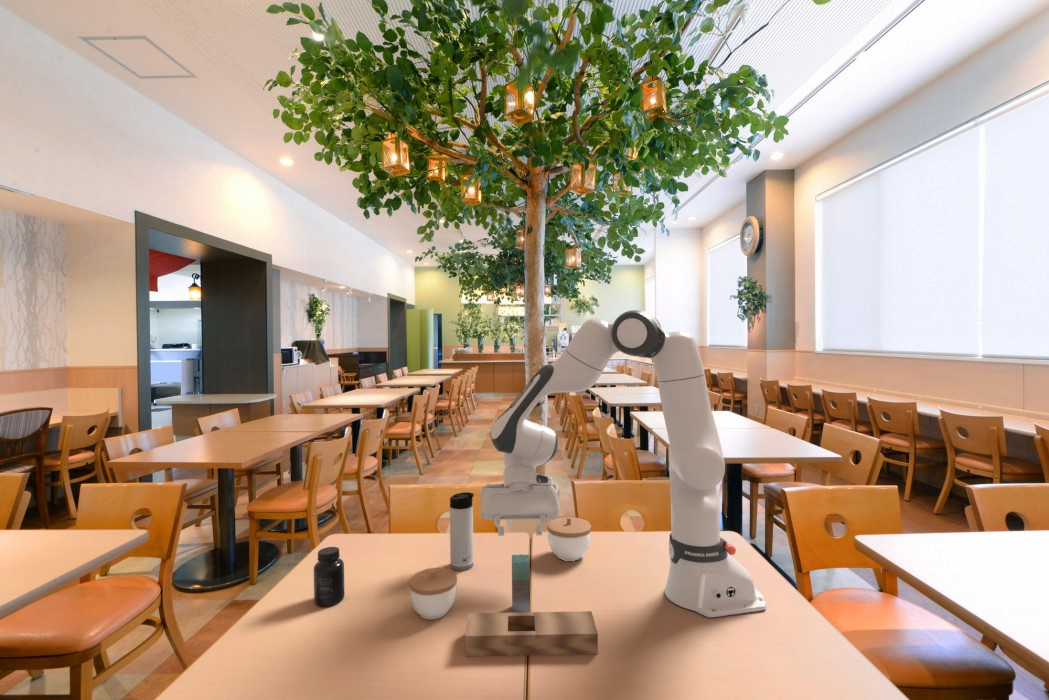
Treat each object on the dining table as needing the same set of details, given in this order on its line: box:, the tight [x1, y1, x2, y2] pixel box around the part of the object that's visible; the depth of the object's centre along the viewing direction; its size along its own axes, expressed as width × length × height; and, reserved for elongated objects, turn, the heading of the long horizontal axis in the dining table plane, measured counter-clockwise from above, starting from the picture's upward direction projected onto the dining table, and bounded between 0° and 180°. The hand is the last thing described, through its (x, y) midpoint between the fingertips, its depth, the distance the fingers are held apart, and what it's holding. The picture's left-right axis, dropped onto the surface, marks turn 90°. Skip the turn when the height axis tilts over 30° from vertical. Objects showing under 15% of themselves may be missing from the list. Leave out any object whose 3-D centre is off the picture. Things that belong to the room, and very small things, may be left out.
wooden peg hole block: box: [464, 610, 599, 657], centre depth 100 cm, size 26×8×4 cm, turn 91°
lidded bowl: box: [546, 516, 592, 562], centre depth 140 cm, size 13×13×11 cm
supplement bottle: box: [313, 546, 346, 608], centre depth 117 cm, size 7×7×12 cm
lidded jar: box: [408, 567, 458, 621], centre depth 111 cm, size 11×11×9 cm
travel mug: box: [449, 491, 475, 572], centre depth 134 cm, size 6×7×20 cm
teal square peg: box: [511, 554, 531, 613], centre depth 112 cm, size 4×4×12 cm
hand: (520, 534), depth 121 cm, fingers open, 8 cm apart
